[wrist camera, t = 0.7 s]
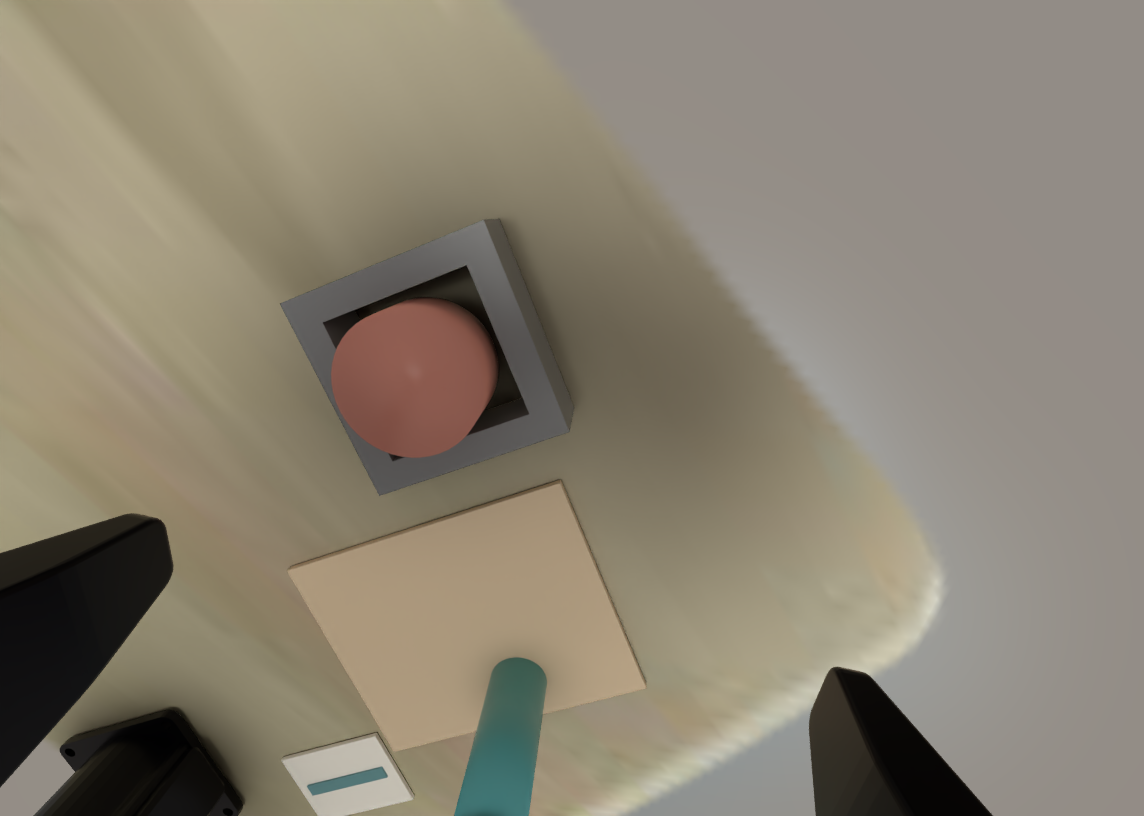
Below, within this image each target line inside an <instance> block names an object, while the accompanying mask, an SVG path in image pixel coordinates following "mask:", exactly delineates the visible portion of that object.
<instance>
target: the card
mask: <svg viewBox="0 0 1144 816" xmlns="http://www.w3.org/2000/svg"><path fill="white" fill-rule="evenodd" d="M281 761H282V763H283V764H284V766H285V767H286V769H287V770H288V772H289V773H290V775H291V776H292V778H293V779H294V781H295V782H296V784H297V785H298V787H299V788H300V790H301V791H302V793H303V794H304V796H305V797H306V799H307V800H308V802H309V803H310V805H311V806H312V808H313V809H314V811H315V812H316V814H317V815H318V816H346V815H351V814H355V813H359V812H363V811H368V810H372V809H376V808H380V807H385V806H389V805H393V804H397V803H402V802H406V801H410V800H413V799H414V794H413V792H412V791H411V789H410V787H409V786H408V784H407V782H406V781H405V779H404V777H403V776H402V774H401V772H400V771H399V769H398V767H397V765H396V764H395V762H394V760H393V759H392V757H391V755H390V754H389V752H388V750H387V749H386V747H385V745H384V744H383V742H382V740H381V739H380V737H379V735H378V734H377V733H373V734H370V735H366V736H362V737H358V738H354V739H350V740H347V741H343V742H339V743H335V744H331V745H327V746H323V747H320V748H316V749H312V750H308V751H304V752H300V753H296V754H293V755H289V756H285V757H283V758H282V760H281Z"/></svg>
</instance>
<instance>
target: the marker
mask: <svg viewBox="0 0 1144 816" xmlns="http://www.w3.org/2000/svg"><path fill="white" fill-rule="evenodd" d="M546 687H547V678H546V675H545V673H544V671H543V670H542V668H541V667H540V666H539V665H537V664H536V663H535V662H533V661H531V660H528V659H525V658H519V657H514V658H508V659H505V660H503V661H501V662H499V663H498V664H497V665H496V666H495V667H494V669H493V671H492V673H491V677H490V681H489V685H488V689H487V692H486V696H485V700H484V704H483V708H482V711H481V715H480V719H479V723H478V727H477V730H476V734H475V738H474V742H473V746H472V750H471V753H470V757H469V761H468V765H467V769H466V772H465V776H464V780H463V784H462V788H461V791H460V795H459V799H458V803H457V807H456V810H455V814H454V816H529V809H530V802H531V795H532V787H533V780H534V773H535V766H536V759H537V752H538V744H539V737H540V730H541V723H542V716H543V709H544V701H545V694H546Z"/></svg>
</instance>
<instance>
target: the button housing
mask: <svg viewBox="0 0 1144 816" xmlns="http://www.w3.org/2000/svg"><path fill="white" fill-rule="evenodd" d="M464 266H467V267H468V270H469V272H470V274H471V277H472V279H473V281H474V284H475V286H476V289H477V291H478V293H479V296H480V298H481V300H482V303H483V305H484V308H485V310H486V312H487V315H488V317H489V319H490V322H491V324H492V327H493V329H494V331H495V334H496V336H497V338H498V341H499V343H500V346H501V348H502V350H503V353H504V355H505V357H506V360H507V362H508V365H509V367H510V369H511V372H512V374H513V376H514V379H515V381H516V384H517V386H518V388H519V391H520V393H521V395H522V398H520V399H517V400H514V401H511V402H508V403H506V404H503V405H500V406H497V407H494V408H491V409H489V410H486V411H483V412H482V414H481V415H480V417H479V418H478V420H477V421H476V423H475V425H474V426H473V427H472V429H471V430H470V432H469V433H468V434H467V435H466V436H465V437H464V439H463V440H462V441H460V442H459V443H458V444H457V445H455V446H454V447H452V448H450V449H449V450H447V451H444V452H442V453H440V454H436V455H433V456H428V457H421V458H410V457H401V456H397V455H393V454H390V453H387V452H384V451H382V450H380V449H378V448H376V447H374V446H372V445H371V444H369V443H368V442H366V441H365V440H364V439H362V438H361V437H360V436H359V435H358V434H357V433H356V432H355V431H354V430H353V429H352V428H351V427H350V426H349V424H348V423H347V422H346V420H345V419H344V417H343V415H342V414H341V412H340V410H339V408H338V406H337V403H336V401H335V397H334V394H333V389H332V383H331V370H332V362H333V358H334V354H335V352H336V349H337V347H338V345H339V343H340V341H341V340H342V338H343V337H344V335H345V334H346V333H347V332H348V330H350V329H351V328H352V327H353V326H354V325H355V324H356V323H358V322H359V321H360V319H359V317H358V315H357V313H356V311H355V310H357V309H359V308H362V307H364V306H367V305H369V304H372V303H374V302H377V301H379V300H382V299H384V298H387V297H389V296H392V295H394V294H397V293H399V292H402V291H404V290H407V289H409V288H412V287H414V286H417V285H419V284H422V283H424V282H427V281H429V280H432V279H434V278H437V277H439V276H442V275H444V274H447V273H449V272H452V271H454V270H457V269H459V268H462V267H464ZM280 305H281V307H282V309H283V311H284V313H285V315H286V317H287V319H288V321H289V322H290V324H291V326H292V328H293V330H294V332H295V334H296V336H297V338H298V340H299V342H300V344H301V346H302V348H303V349H304V351H305V353H306V355H307V357H308V359H309V361H310V363H311V365H312V367H313V369H314V371H315V373H316V375H317V376H318V378H319V380H320V382H321V384H322V386H323V388H324V390H325V392H326V394H327V396H328V398H329V400H330V401H331V403H332V405H333V407H334V409H335V411H336V413H337V415H338V417H339V419H340V421H341V423H342V425H343V427H344V428H345V430H346V432H347V434H348V436H349V438H350V440H351V442H352V444H353V446H354V448H355V450H356V452H357V454H358V455H359V457H360V459H361V461H362V463H363V465H364V467H365V469H366V471H367V473H368V475H369V477H370V479H371V481H372V482H373V484H374V486H375V488H376V490H377V492H378V494H379V496H380V495H383V494H386V493H389V492H392V491H395V490H398V489H401V488H404V487H407V486H410V485H413V484H416V483H419V482H422V481H425V480H428V479H431V478H434V477H437V476H440V475H443V474H446V473H449V472H452V471H455V470H458V469H461V468H464V467H467V466H470V465H473V464H476V463H479V462H482V461H485V460H488V459H490V458H493V457H496V456H499V455H502V454H505V453H508V452H511V451H514V450H517V449H520V448H523V447H526V446H529V445H532V444H535V443H538V442H541V441H544V440H547V439H550V438H553V437H556V436H559V435H562V434H565V433H568V432H570V427H571V422H572V417H573V412H574V406H573V403H572V401H571V398H570V396H569V393H568V391H567V388H566V386H565V383H564V381H563V378H562V376H561V373H560V371H559V368H558V366H557V363H556V360H555V358H554V355H553V353H552V350H551V348H550V345H549V343H548V340H547V338H546V335H545V333H544V330H543V328H542V325H541V323H540V320H539V318H538V315H537V313H536V310H535V308H534V305H533V303H532V300H531V298H530V295H529V293H528V290H527V287H526V285H525V282H524V280H523V277H522V275H521V272H520V270H519V267H518V265H517V262H516V260H515V257H514V255H513V252H512V250H511V247H510V245H509V242H508V240H507V237H506V235H505V232H504V230H503V227H502V225H501V222H500V220H499V219H487V220H482V221H479V222H477V223H474V224H472V225H470V226H467V227H465V228H462V229H460V230H457V231H455V232H453V233H450V234H448V235H445V236H443V237H440V238H438V239H436V240H433V241H431V242H428V243H426V244H424V245H421V246H419V247H416V248H414V249H411V250H409V251H407V252H404V253H402V254H399V255H397V256H394V257H392V258H390V259H387V260H385V261H382V262H380V263H377V264H375V265H373V266H370V267H368V268H365V269H363V270H360V271H358V272H356V273H353V274H351V275H348V276H346V277H343V278H341V279H339V280H336V281H334V282H331V283H329V284H326V285H324V286H322V287H319V288H317V289H314V290H312V291H309V292H307V293H305V294H302V295H300V296H297V297H295V298H292V299H290V300H288V301H285V302H283V303H280Z"/></svg>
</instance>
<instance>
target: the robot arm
mask: <svg viewBox="0 0 1144 816" xmlns="http://www.w3.org/2000/svg"><path fill="white" fill-rule="evenodd" d="M172 572H173V560H172V555H171V550H170V545H169V540H168V535H167V530H166V527H165V525H164V523H163V522H162V521H161V520H159V519H158V518H154V517H149V516H145V515H140V514H132V513H131V514H125V515H122V516H118V517H115V518H112V519H109V520H106V521H102V522H99V523H96V524H93V525H89V526H86V527H83V528H80V529H77V530H73V531H70V532H67V533H64V534H61V535H57V536H54V537H51V538H48V539H44V540H41V541H38V542H35V543H32V544H28V545H25V546H22V547H19V548H16V549H12V550H9V551H6V552H3V553H0V787H1V786H2V785H3V784H4V783H5V781H6V780H7V779H8V778H9V777H10V776H11V775H12V774H13V773H14V771H15V770H16V769H17V768H18V767H19V766H20V765H21V763H22V762H23V761H24V760H25V759H26V758H27V757H28V756H29V755H30V753H31V752H32V751H33V750H34V749H35V748H36V747H37V746H38V744H39V743H40V742H41V741H42V740H43V739H44V738H45V737H46V735H47V734H48V733H49V732H50V731H51V730H52V729H53V728H54V726H55V725H56V724H57V723H58V722H59V721H60V720H61V719H62V718H63V716H64V715H65V714H66V713H67V712H68V711H69V710H70V709H71V707H72V706H73V705H74V704H75V703H76V702H77V701H78V699H79V698H80V697H81V696H82V695H83V694H84V692H85V691H86V690H87V689H88V688H89V687H90V685H91V684H92V683H93V682H94V681H95V679H96V678H97V677H98V675H99V674H100V673H101V672H102V670H103V669H104V668H105V667H106V665H107V664H108V663H109V661H110V660H111V659H112V657H113V656H114V655H115V653H116V652H117V651H118V649H119V648H120V647H121V645H122V644H123V643H124V641H125V640H126V639H127V637H128V636H129V635H130V633H131V632H132V631H133V629H134V628H135V627H136V625H137V624H138V623H139V621H140V620H141V619H142V617H143V616H144V615H145V613H146V612H147V611H148V609H149V608H150V607H151V605H152V604H153V603H154V601H155V600H156V599H157V597H158V596H159V595H160V593H161V592H162V591H163V589H164V588H165V587H166V585H167V584H168V582H169V580H170V578H171V576H172ZM809 736H810V749H811V761H812V774H813V787H814V799H815V812H816V816H993V815H992V814H991V813H990V812H989V811H988V810H987V809H986V807H985V806H984V805H983V804H982V803H981V802H980V800H979V799H978V798H977V797H976V796H975V795H974V794H973V792H972V791H971V790H970V789H969V788H968V787H967V786H966V784H965V783H964V782H963V781H962V780H961V779H960V778H959V776H958V775H957V774H956V773H955V772H954V771H953V770H952V768H951V767H949V765H948V764H947V763H946V762H945V761H944V759H943V758H942V757H941V756H940V755H939V754H938V753H937V751H936V750H935V749H934V748H933V747H932V746H931V745H930V743H929V742H928V741H927V740H926V739H925V738H924V737H923V735H922V734H921V733H920V732H919V731H918V730H917V729H916V728H915V726H914V725H913V724H912V723H911V722H910V721H909V719H908V718H907V717H906V716H905V715H904V714H903V713H902V711H901V710H900V709H899V708H898V707H897V706H896V705H895V704H894V702H893V701H892V700H891V699H890V698H889V697H888V696H887V694H886V693H885V692H884V691H883V690H882V689H881V688H880V686H879V685H878V684H877V683H876V682H875V681H874V680H873V679H872V678H871V677H870V676H869V675H868V674H866V673H863V672H860V671H855V670H851V669H846V668H842V667H833V668H832V669H830V670H829V672H828V674H827V675H826V678H825V680H824V682H823V685H822V687H821V689H820V691H819V694H818V696H817V698H816V701H815V703H814V705H813V708H812V710H811V714H810V720H809ZM60 753H61V755H62V756H63V757H64V758H65V760H66V761H67V762H68V764H69V765H70V766H71V767H72V769H73V770H74V771H75V773H74V774H73V775H72V776H71V777H70V778H69V779H68V780H67V781H66V782H65V783H64V785H63V786H62V787H61V788H60V789H59V790H58V791H57V792H56V793H55V794H54V795H53V796H52V797H51V798H50V799H49V800H48V801H47V802H46V803H45V804H44V805H43V806H42V808H41V809H40V810H39V811H38V812H37V813H36V814H35V815H34V816H238V815H239V813H240V812H241V810H242V808H243V804H242V802H241V800H240V799H239V797H238V796H237V795H236V793H235V792H234V790H233V789H232V788H231V786H230V785H229V783H228V782H227V780H226V779H225V778H224V776H223V775H222V773H221V772H220V771H219V769H218V768H217V766H216V765H215V763H214V762H213V761H212V759H211V758H210V756H209V755H208V754H207V752H206V751H205V749H204V748H203V746H202V745H201V744H200V742H199V741H198V739H197V738H196V737H195V735H194V734H193V732H192V731H191V729H190V728H189V727H188V725H187V724H186V722H185V721H184V720H183V718H182V717H181V715H180V714H179V713H177V712H175V711H173V710H165V711H162V712H158V713H155V714H151V715H148V716H144V717H141V718H138V719H134V720H131V721H127V722H124V723H120V724H117V725H113V726H110V727H106V728H103V729H99V730H96V731H92V732H89V733H85V734H82V735H78V736H75V737H71V738H69V739H68V740H67V741H66V742H65V743H64V744H63V745H62V746H61V747H60Z"/></svg>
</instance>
